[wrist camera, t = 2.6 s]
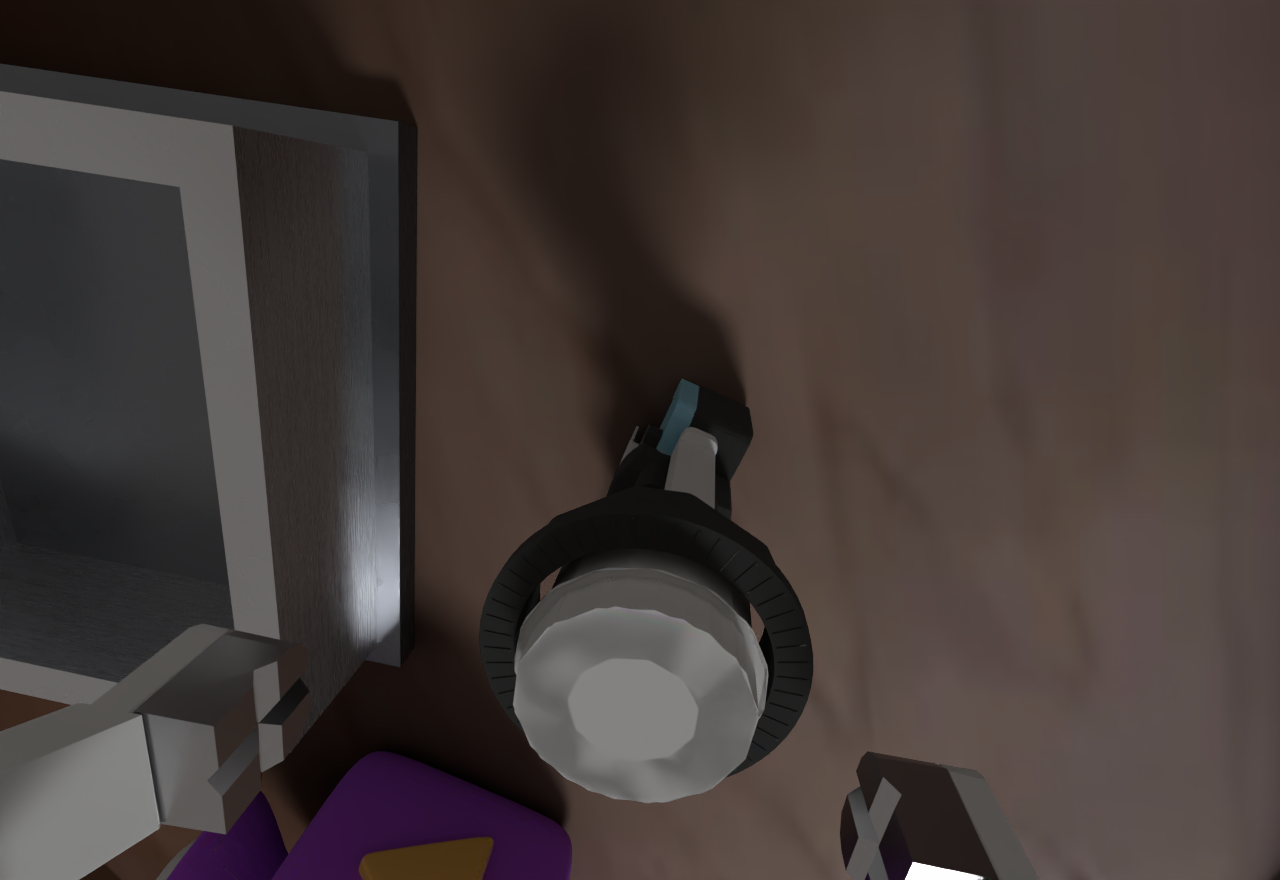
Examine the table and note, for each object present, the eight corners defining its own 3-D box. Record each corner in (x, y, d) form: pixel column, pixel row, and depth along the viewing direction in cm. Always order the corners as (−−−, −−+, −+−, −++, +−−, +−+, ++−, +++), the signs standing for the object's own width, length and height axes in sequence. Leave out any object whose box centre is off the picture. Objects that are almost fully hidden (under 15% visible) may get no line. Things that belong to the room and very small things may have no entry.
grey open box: (417, 127, 16) (269, 81, 11) (413, 648, 22) (319, 780, 17) (-133, 47, 17) (-511, -31, 12) (10, 565, 23) (-197, 665, 18)
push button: (701, 593, 19) (686, 935, 10) (551, 527, 19) (394, 814, 10) (800, 415, 17) (899, 650, 8) (629, 339, 17) (519, 485, 8)
